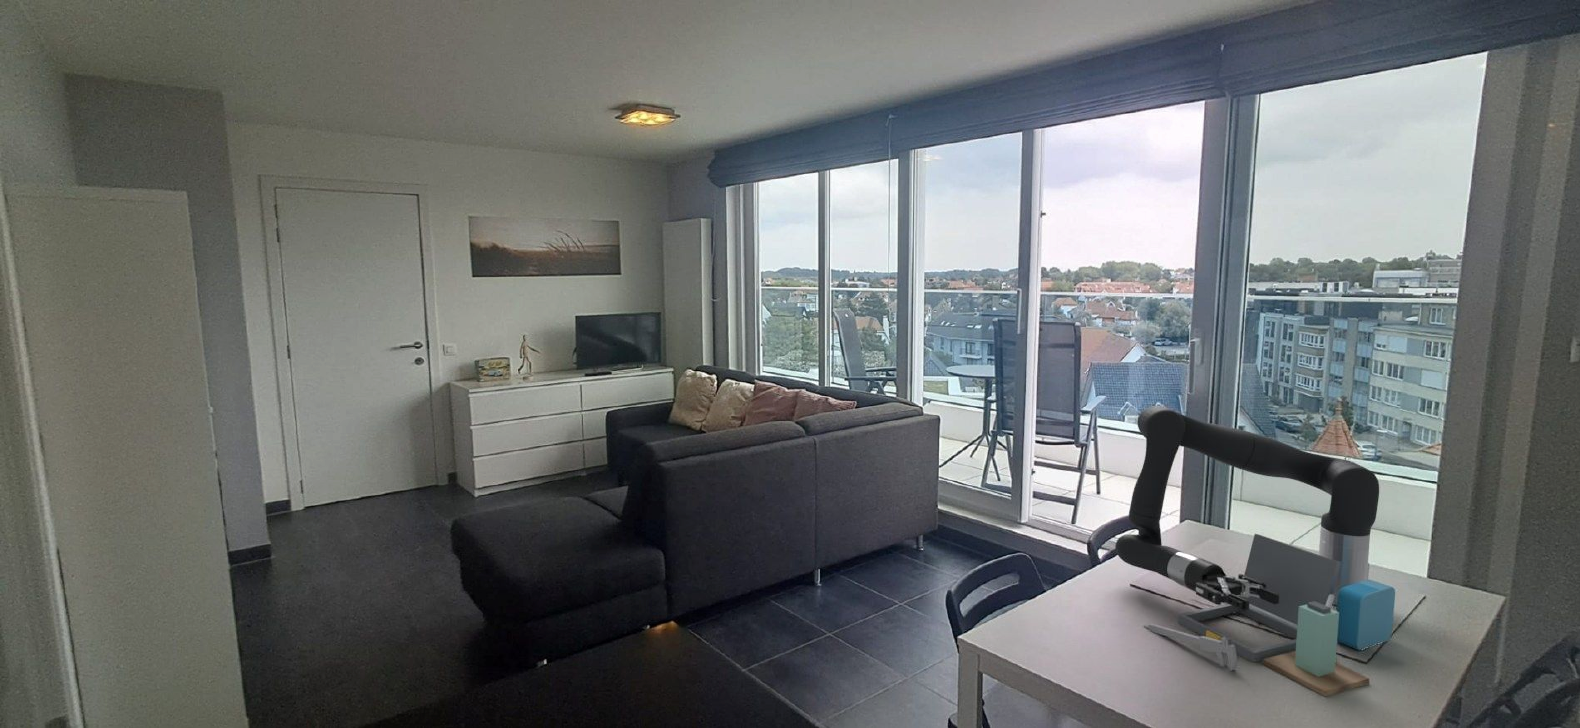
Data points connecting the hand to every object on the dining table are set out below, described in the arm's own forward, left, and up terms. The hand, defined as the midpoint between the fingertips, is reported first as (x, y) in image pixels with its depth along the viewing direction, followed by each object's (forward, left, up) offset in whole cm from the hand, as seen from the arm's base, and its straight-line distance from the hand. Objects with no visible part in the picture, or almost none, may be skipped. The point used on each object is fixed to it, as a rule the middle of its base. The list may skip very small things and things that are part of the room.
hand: (1263, 603), depth 148 cm
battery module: (0, +11, -8) cm, 14 cm away
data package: (-22, +6, -10) cm, 25 cm away
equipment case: (-4, -4, -9) cm, 11 cm away
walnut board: (0, +11, -9) cm, 15 cm away
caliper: (+14, -5, -10) cm, 18 cm away
